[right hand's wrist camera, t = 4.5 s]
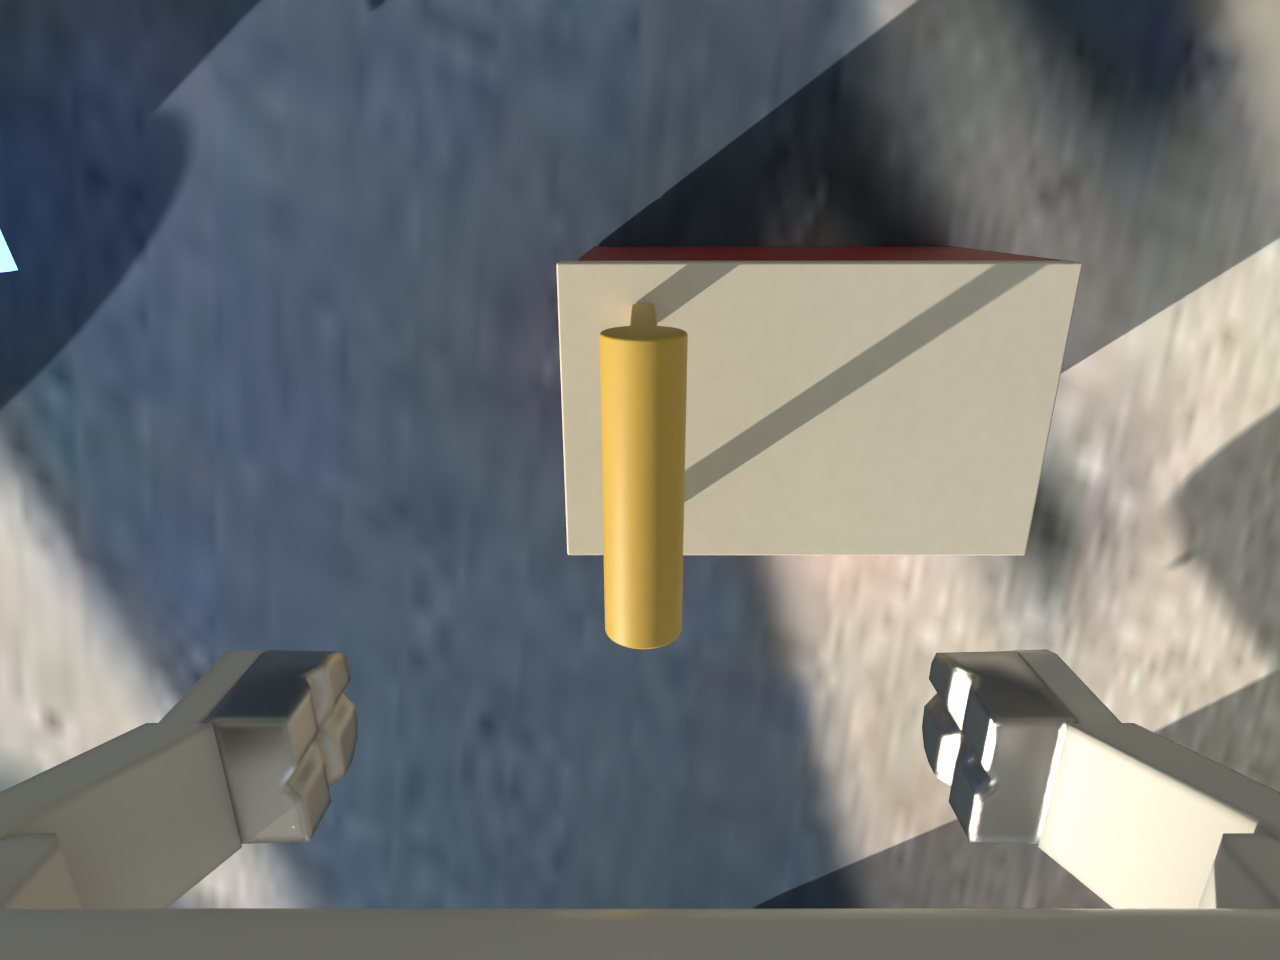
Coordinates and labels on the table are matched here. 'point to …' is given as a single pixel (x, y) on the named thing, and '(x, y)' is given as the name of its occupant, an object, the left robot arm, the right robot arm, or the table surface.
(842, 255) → the chest
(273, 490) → the table surface
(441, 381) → the table surface
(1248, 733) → the table surface
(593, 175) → the table surface
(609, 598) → the lid
